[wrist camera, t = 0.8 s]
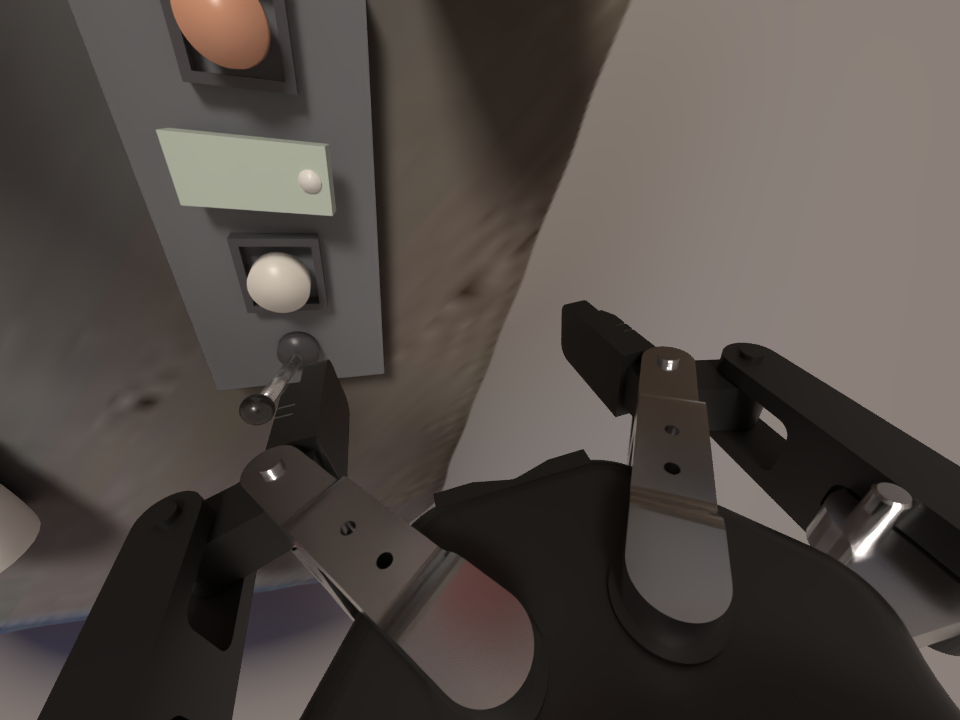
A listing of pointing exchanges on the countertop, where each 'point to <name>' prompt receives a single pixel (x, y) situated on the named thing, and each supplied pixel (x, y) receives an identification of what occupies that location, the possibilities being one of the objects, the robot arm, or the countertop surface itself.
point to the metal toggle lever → (268, 394)
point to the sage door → (249, 172)
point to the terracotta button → (225, 30)
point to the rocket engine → (15, 527)
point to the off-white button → (279, 282)
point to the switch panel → (247, 233)
